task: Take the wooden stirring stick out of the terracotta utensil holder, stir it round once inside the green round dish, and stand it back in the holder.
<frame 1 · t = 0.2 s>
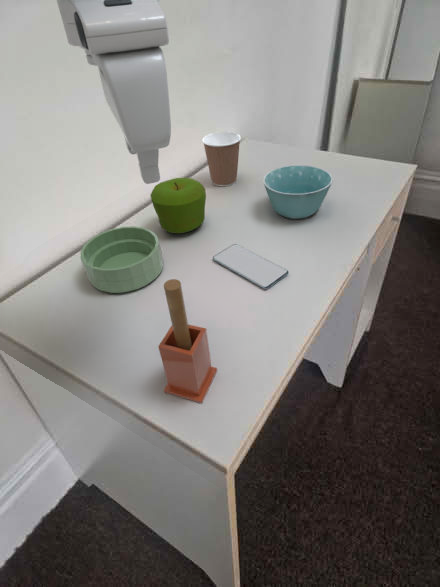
hand: (143, 165, 43), 29 cm above the table, tool pointing down, fingers open, 8 cm apart
stirring stick: (190, 378, 54), point 1 cm above the table, touching utensil holder
green round dish: (127, 270, 77), on the table
apple: (183, 227, 89), on the table
bowl: (295, 210, 91), on the table
smartphone: (249, 267, 75), on the table
utensil holder: (191, 381, 55), on the table
coffee cup: (224, 181, 106), on the table
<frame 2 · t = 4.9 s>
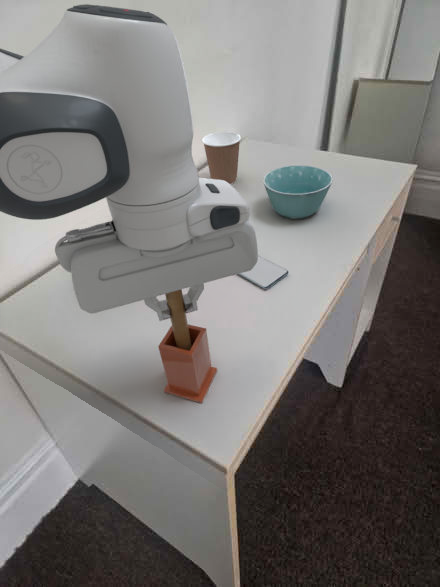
hand: (177, 312, 45), 14 cm above the table, tool pointing down, fingers closed on stirring stick, 2 cm apart
stirring stick: (190, 378, 54), point 1 cm above the table, touching gripper, utensil holder
everything else where it was.
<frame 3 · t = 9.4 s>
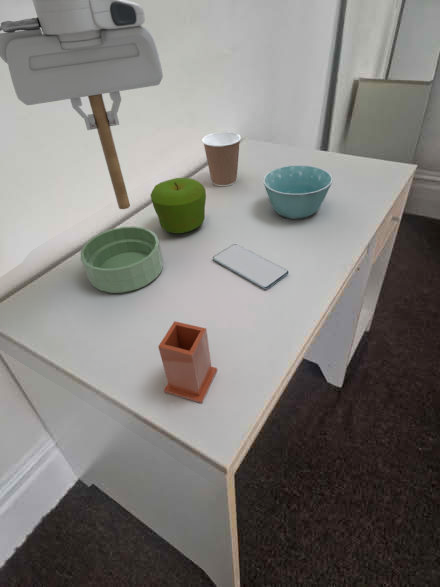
hand: (103, 126, 57), 29 cm above the table, tool pointing down, fingers closed on stirring stick
stirring stick: (124, 206, 65), point 15 cm above the table, touching gripper
everything else where it was.
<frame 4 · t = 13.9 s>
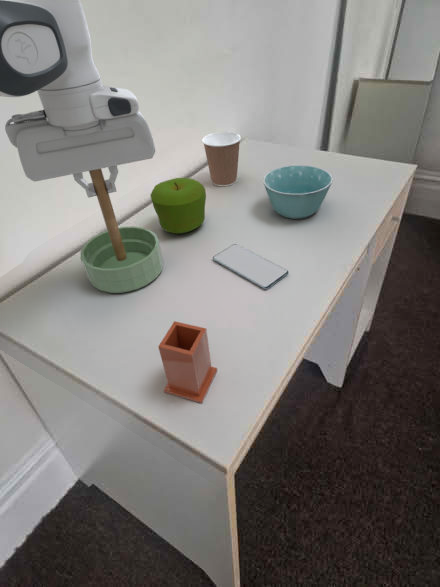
hand: (102, 193, 63), 18 cm above the table, tool pointing down, fingers closed on stirring stick
stirring stick: (121, 258, 72), point 5 cm above the table, touching gripper
everything else where it was.
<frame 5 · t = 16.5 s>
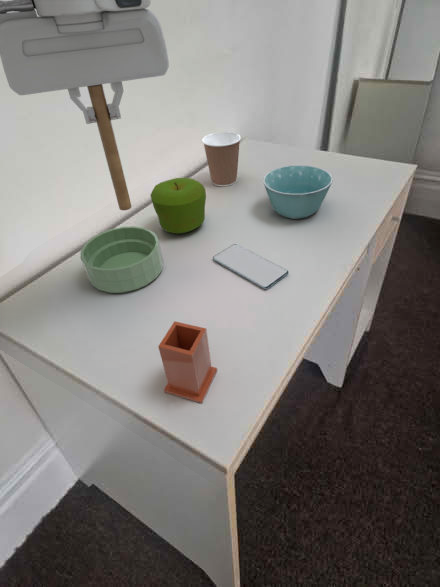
hand: (103, 120, 52), 31 cm above the table, tool pointing down, fingers closed on stirring stick
stirring stick: (125, 207, 61), point 17 cm above the table, touching gripper
everything else where it was.
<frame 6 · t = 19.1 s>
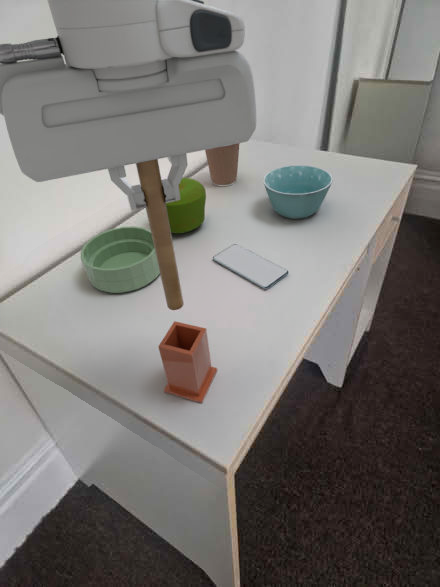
hand: (155, 203, 36), 29 cm above the table, tool pointing down, fingers closed on stirring stick
stirring stick: (175, 304, 45), point 15 cm above the table, touching gripper
everything else where it was.
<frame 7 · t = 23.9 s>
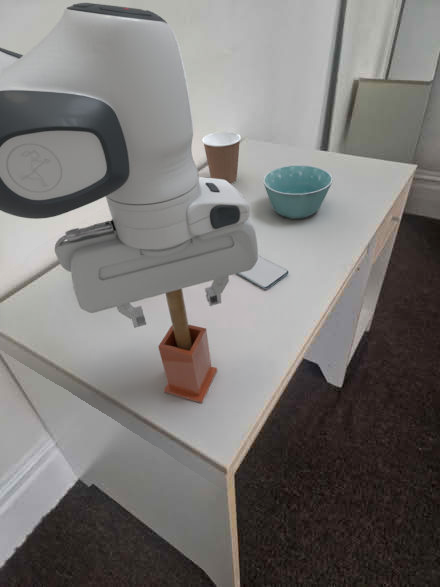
hand: (177, 312, 45), 14 cm above the table, tool pointing down, fingers open, 8 cm apart
stirring stick: (191, 378, 54), point 1 cm above the table, touching utensil holder
everything else where it was.
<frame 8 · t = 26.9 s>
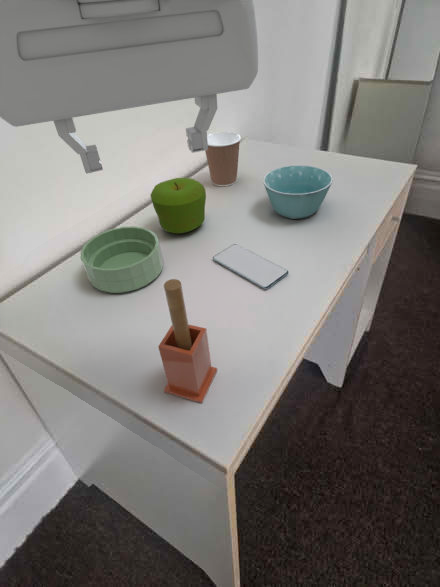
hand: (147, 159, 33), 33 cm above the table, tool pointing down, fingers open, 8 cm apart
nothing on the table moved.
at the end: stirring stick 0.0 cm off-centre on the utensil holder, point 0.6 cm above the utensil holder's base; stirring stick tilted 0°; stirring stick touching utensil holder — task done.
